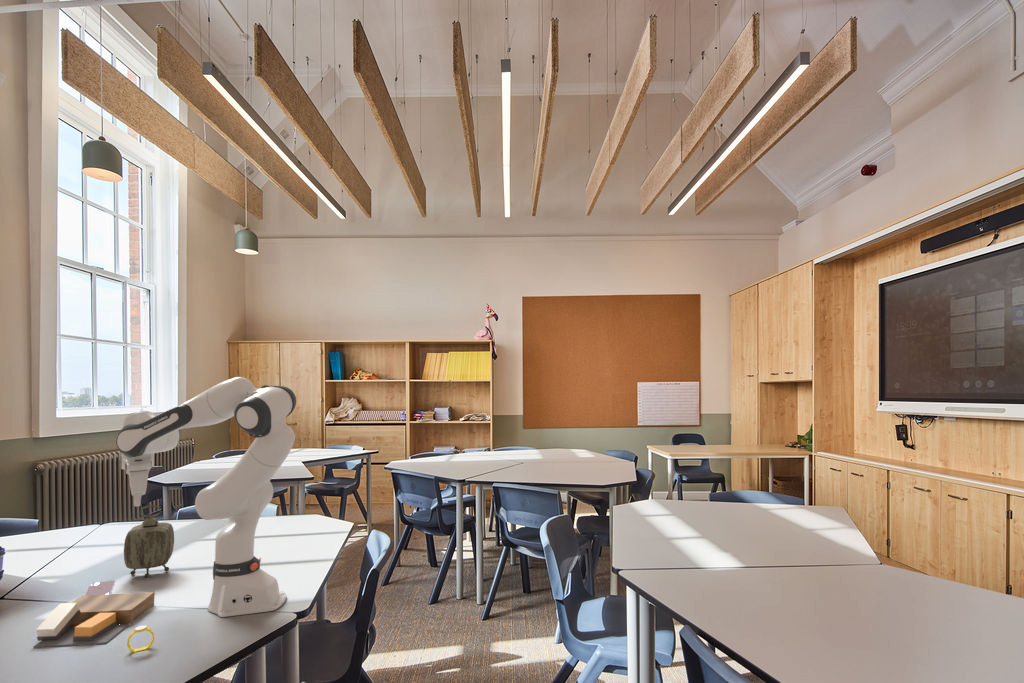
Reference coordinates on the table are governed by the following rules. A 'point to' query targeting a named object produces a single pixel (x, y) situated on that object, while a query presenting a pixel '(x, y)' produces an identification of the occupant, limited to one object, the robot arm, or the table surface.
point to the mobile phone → (100, 588)
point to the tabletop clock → (149, 544)
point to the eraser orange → (95, 627)
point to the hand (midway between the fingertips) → (137, 505)
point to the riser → (114, 606)
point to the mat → (67, 640)
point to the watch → (137, 629)
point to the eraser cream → (57, 621)
